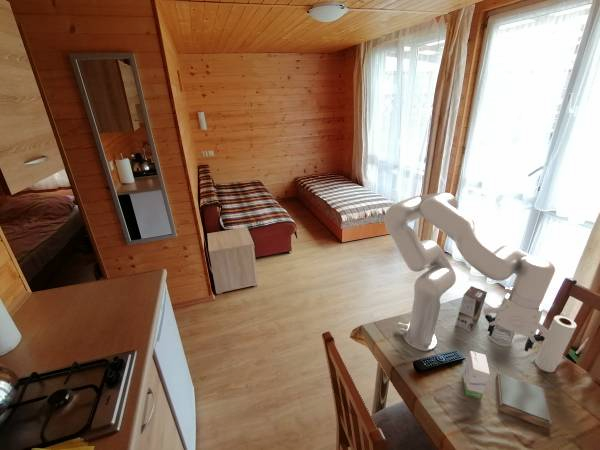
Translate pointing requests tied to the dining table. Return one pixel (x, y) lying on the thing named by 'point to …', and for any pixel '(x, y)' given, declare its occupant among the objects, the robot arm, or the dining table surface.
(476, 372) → the ink box
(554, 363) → the paper towel roll
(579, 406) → the dining table surface
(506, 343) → the french press
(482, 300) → the coffee box
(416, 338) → the robot arm
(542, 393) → the stand
